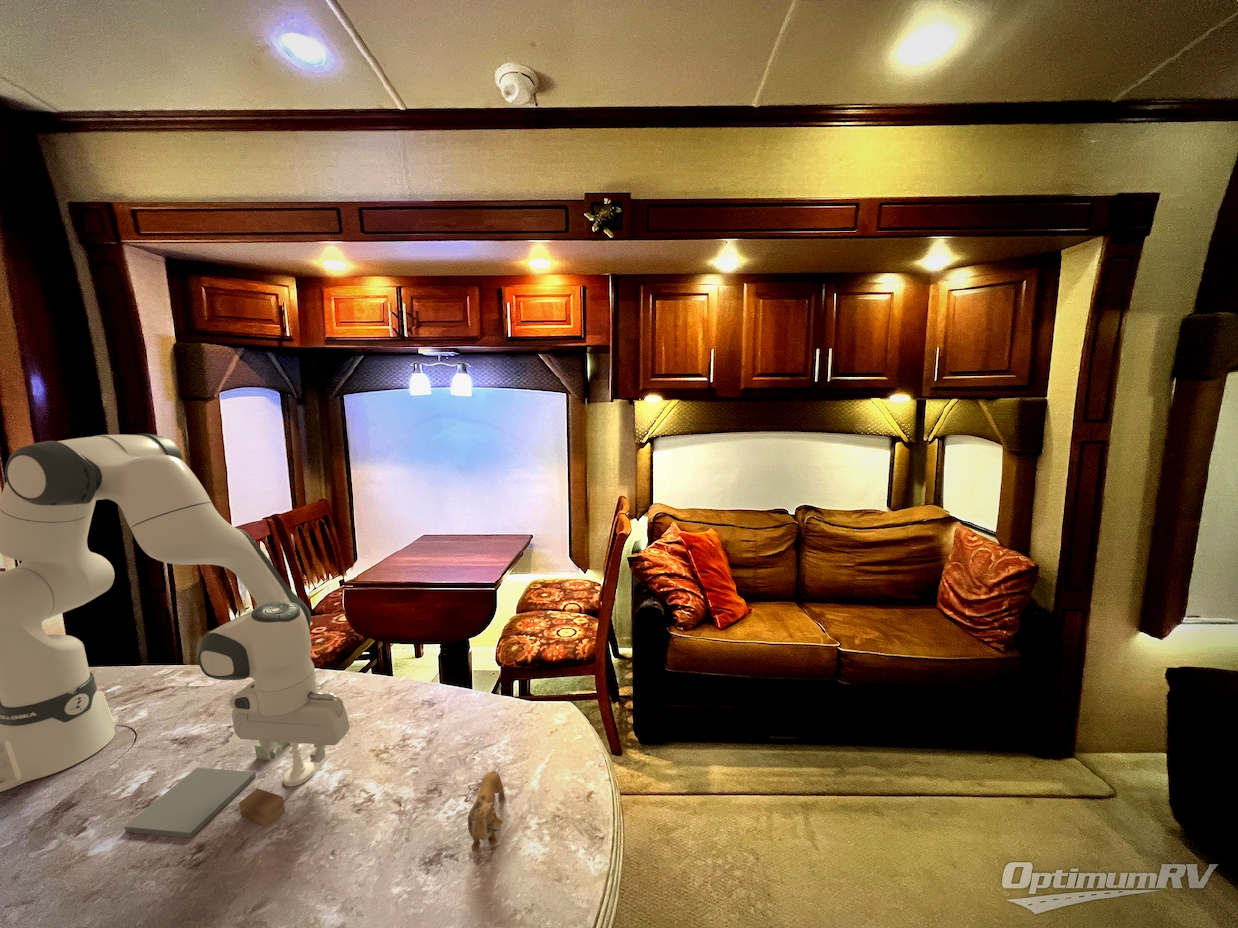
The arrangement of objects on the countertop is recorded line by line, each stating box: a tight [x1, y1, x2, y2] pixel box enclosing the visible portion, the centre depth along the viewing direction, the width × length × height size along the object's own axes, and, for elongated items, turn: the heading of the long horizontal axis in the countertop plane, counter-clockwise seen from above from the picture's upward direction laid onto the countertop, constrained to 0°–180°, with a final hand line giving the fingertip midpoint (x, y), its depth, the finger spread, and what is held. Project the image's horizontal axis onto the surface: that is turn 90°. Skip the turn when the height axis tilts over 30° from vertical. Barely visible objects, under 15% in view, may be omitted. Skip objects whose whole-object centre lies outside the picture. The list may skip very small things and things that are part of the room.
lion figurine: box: [467, 770, 506, 852], centre depth 76 cm, size 15×5×9 cm, turn 13°
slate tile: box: [124, 767, 257, 839], centre depth 81 cm, size 12×12×1 cm
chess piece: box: [282, 742, 316, 787], centre depth 86 cm, size 5×5×10 cm
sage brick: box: [254, 741, 290, 761], centre depth 94 cm, size 6×3×3 cm, turn 170°
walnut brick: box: [238, 788, 286, 827], centre depth 79 cm, size 6×3×3 cm, turn 73°
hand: (296, 758), depth 86 cm, fingers open, 7 cm apart
